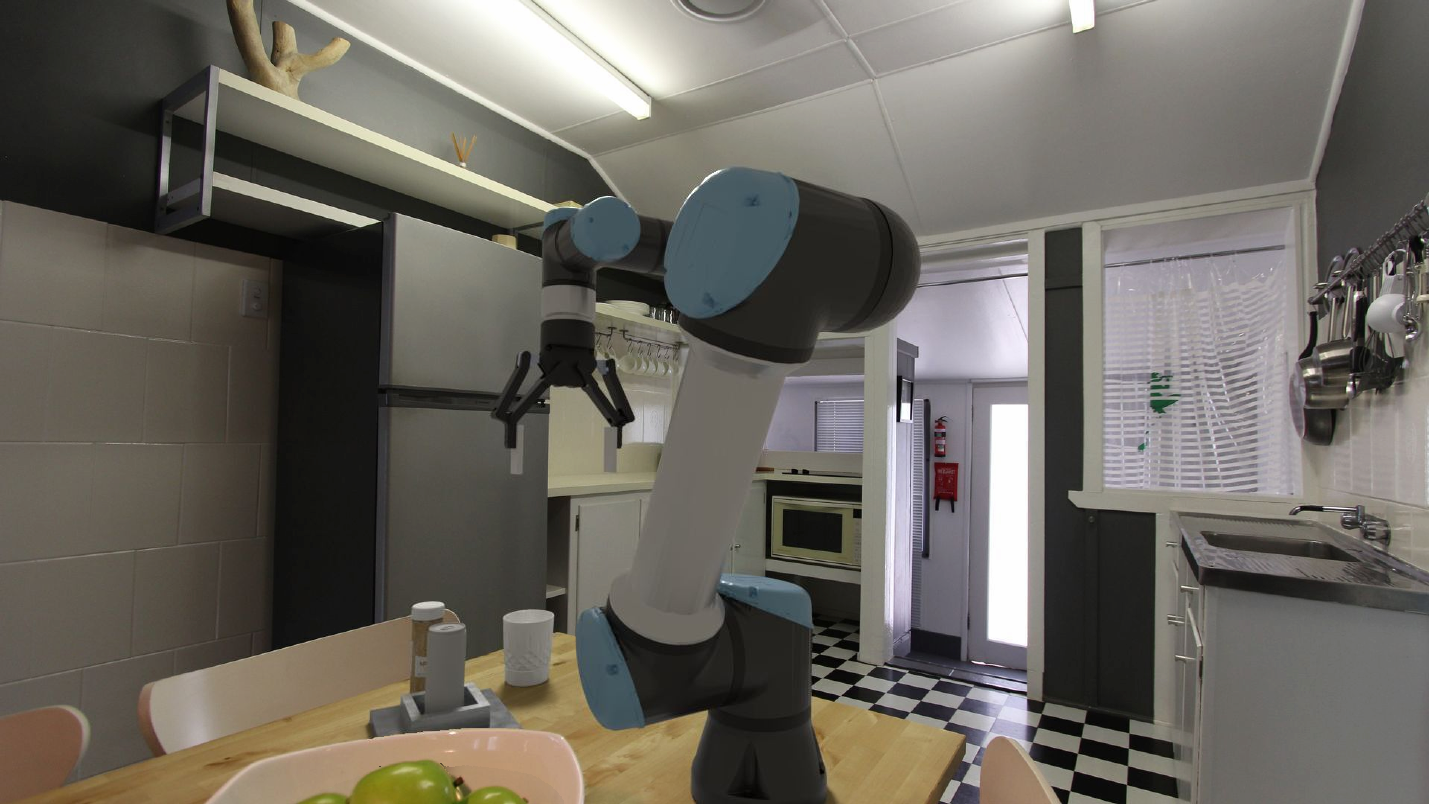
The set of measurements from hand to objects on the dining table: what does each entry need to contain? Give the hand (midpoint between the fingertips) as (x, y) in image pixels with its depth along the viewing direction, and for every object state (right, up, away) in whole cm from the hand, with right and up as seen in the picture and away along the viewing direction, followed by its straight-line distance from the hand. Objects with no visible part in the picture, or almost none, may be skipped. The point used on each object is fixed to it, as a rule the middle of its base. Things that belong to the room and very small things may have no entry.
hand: (565, 473), depth 93 cm
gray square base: (-15, -33, -5) cm, 37 cm away
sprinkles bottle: (-22, -34, +7) cm, 41 cm away
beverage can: (-15, -32, -5) cm, 36 cm away
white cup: (-9, -35, +14) cm, 39 cm away
